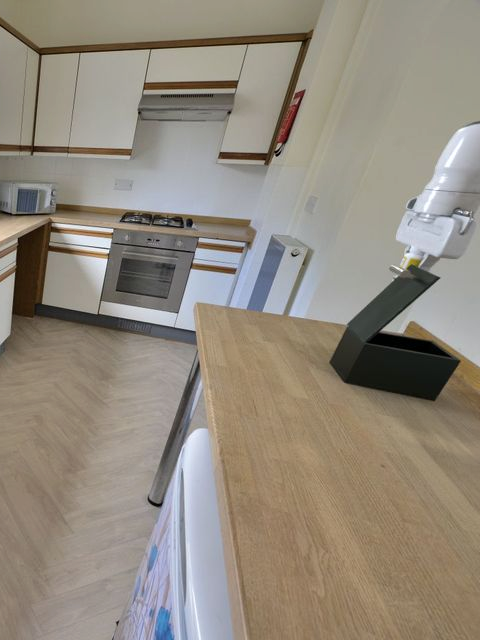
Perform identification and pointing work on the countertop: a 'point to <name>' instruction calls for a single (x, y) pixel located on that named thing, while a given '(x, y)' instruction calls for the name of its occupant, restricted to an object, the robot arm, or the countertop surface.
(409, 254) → the supplement bottle
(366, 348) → the bin
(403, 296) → the bin lid
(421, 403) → the countertop surface
